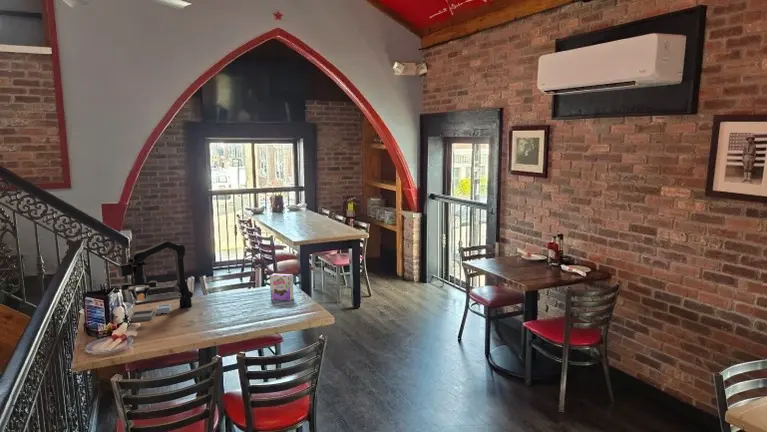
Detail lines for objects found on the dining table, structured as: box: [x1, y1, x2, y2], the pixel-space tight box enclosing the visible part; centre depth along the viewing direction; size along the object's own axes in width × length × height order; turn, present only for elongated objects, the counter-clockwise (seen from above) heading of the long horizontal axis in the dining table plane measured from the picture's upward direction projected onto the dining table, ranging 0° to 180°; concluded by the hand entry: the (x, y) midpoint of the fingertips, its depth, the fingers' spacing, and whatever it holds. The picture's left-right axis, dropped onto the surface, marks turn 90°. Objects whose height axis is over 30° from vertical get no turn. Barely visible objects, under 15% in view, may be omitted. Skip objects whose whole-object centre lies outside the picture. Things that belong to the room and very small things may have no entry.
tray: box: [129, 309, 156, 322], centre depth 311 cm, size 12×12×2 cm
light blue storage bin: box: [156, 303, 172, 315], centre depth 320 cm, size 7×7×4 cm
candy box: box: [269, 272, 295, 302], centre depth 339 cm, size 14×6×16 cm, turn 73°
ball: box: [136, 292, 145, 302], centre depth 310 cm, size 4×4×4 cm
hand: (141, 299), depth 310 cm, fingers closed on ball, 4 cm apart
